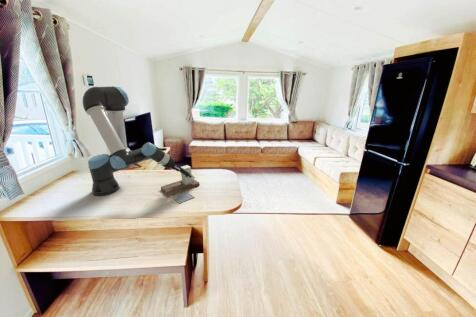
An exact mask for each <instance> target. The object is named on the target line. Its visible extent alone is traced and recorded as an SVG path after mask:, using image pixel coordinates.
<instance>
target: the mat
mask: <svg viewBox="0 0 476 317" xmlns="http://www.w3.org/2000/svg"><path fill="white" fill-rule="evenodd" d="M171 198H172V199H174V201H176V202H177V203H178V204H182V203H184V202H187V201H190V200H193V199H195V196H194V195H192V194H191V193H190V192H189V191H188V190H185V191H182V192H180V193H177V194H174V195H171Z"/></svg>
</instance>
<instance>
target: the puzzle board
mask: <svg viewBox="0 0 476 317" xmlns="http://www.w3.org/2000/svg"><path fill="white" fill-rule="evenodd" d="M199 186H200V182H199V181H197V179H194V180H192V184H189V185H186V186H185V185H183V184H182V179H181V180H178V181H174V182H171V183H169V184H165V185H162V186H160V190H161V191H162V192H163V193H164V194H165V195H166V196H168V197H172V196H174V195H177V194H180V193H183V192H185V191H188V190H191V189H193V188H196V187H199Z"/></svg>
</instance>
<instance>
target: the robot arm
mask: <svg viewBox="0 0 476 317" xmlns="http://www.w3.org/2000/svg"><path fill="white" fill-rule="evenodd" d="M129 103H130V102H129V96H128V93H127V92H126V91H125V90H124V88H122V87H120V86H93V87H89V88H88V89H87V90H86V91H85V92H84V94H83V97H82V107H83V110H84V112H85V113H86V115H88V116H90V119H91V120H92V121H93V124H94V126H95V127H96V129H97V131H98V132H99V134H100V136H101V138H102V140H103V141H104V143H105V146H106V147H107V149H108V150H109V153H110V154H107V153H101V154H97V155H94V156H92V157H90V158H89V159H88V161H87V165H88V169H89V173H90V175H91V179H92V187H91V192H92V195H93V196H96V197H103V196H107V195H111V194H114V193H115V192H117V191H118V190H119V189H120V184H119V183H118V181H117V180H116V177H115V176H114V173H116V172H118V171H122V170H125V169H128V168H130V167H132V166H133V165H135V164H138V163H141V162H143V161H148V160H152V161H154V162H156V164H157V165H161V166H162V167H163V168H165V169H166V170H167V169H172V170H175V171H176V172H180V174H181V173H182V174H184V175H186V176H185V177H188V178H190V179H191V180H195V178H196V177H195V176H194V175H193V174H192V173H191V174H192V175H191V174H190V173H188V172H186V171H185V170H183V169H182V168H181V167H182V166H180V165H179V164H178V163H176V162H175V161H176V160H175V158H174V157H172V156H171V155H170V154H169V153H167V152H165V151H163V150H162V149H161V148H160V147H159V146H157V145H155V144H153V143H151V142H150V141H148V142H145V143H144V144H143V145H142V147H140V148H137V149H134V150H131V149H130V148H129V147H128V143H127V135H126V126H125V118H124V112H125V111H126V106H128V105H129Z"/></svg>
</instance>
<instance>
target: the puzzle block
mask: <svg viewBox="0 0 476 317" xmlns="http://www.w3.org/2000/svg"><path fill="white" fill-rule="evenodd" d="M180 167H181V168H182V169H183V170H185V171H186V172H188V173H190V174H191V175H193V174H192V167H191V166H190V165H188V164H186V165H183V166H180ZM180 174H181V175H180V177H181V180H182V184H183V185H185V186H186V185H189V184H192V180H191V179H190V178H188V177H185V176H186V175H184V174H182V173H180Z"/></svg>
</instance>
